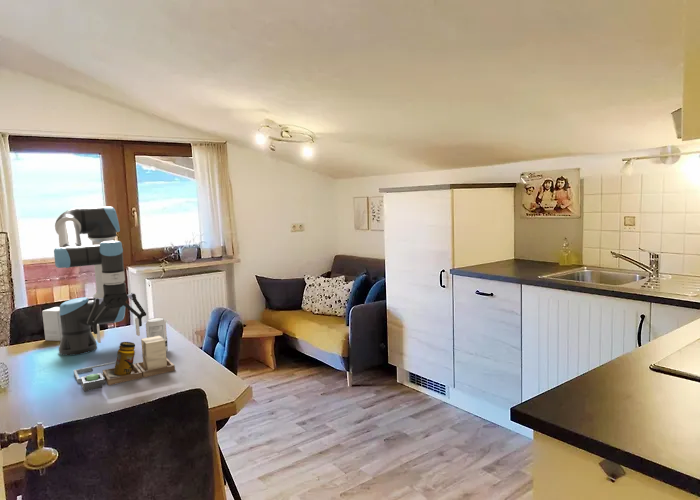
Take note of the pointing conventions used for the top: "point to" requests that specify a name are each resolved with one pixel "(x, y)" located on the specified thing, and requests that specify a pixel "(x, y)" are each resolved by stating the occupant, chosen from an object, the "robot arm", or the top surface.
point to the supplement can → (157, 329)
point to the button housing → (92, 383)
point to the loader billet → (153, 353)
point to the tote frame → (87, 370)
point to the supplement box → (52, 324)
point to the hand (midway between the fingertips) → (119, 338)
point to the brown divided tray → (137, 373)
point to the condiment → (123, 360)
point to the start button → (92, 377)
